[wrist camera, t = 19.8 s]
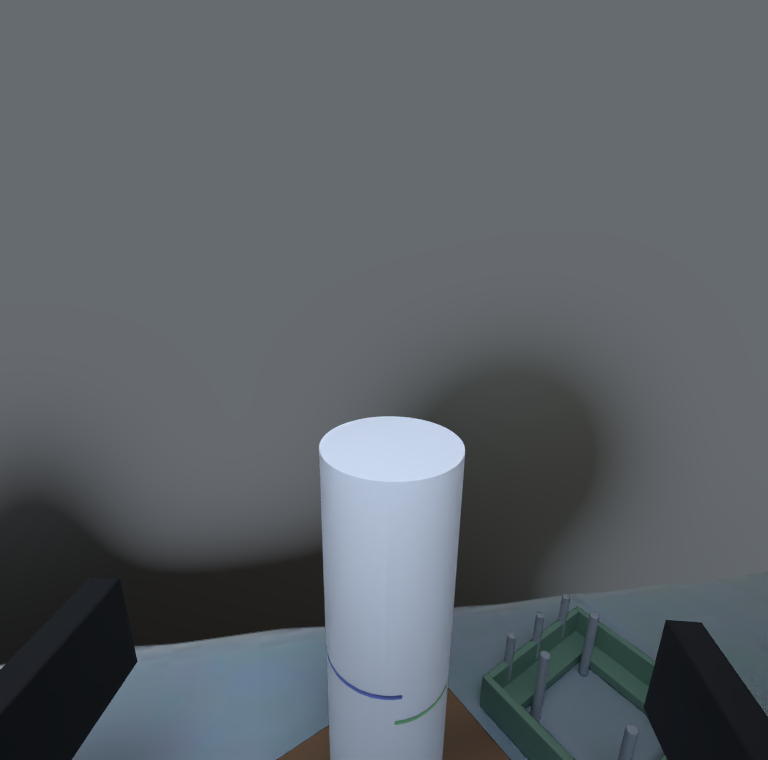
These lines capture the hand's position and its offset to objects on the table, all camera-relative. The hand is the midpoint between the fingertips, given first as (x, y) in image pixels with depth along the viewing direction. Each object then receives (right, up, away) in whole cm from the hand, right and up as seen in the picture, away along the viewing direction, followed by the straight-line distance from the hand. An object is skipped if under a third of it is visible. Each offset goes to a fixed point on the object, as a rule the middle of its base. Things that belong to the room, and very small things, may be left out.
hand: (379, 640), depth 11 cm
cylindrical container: (0, -21, +19) cm, 28 cm away
